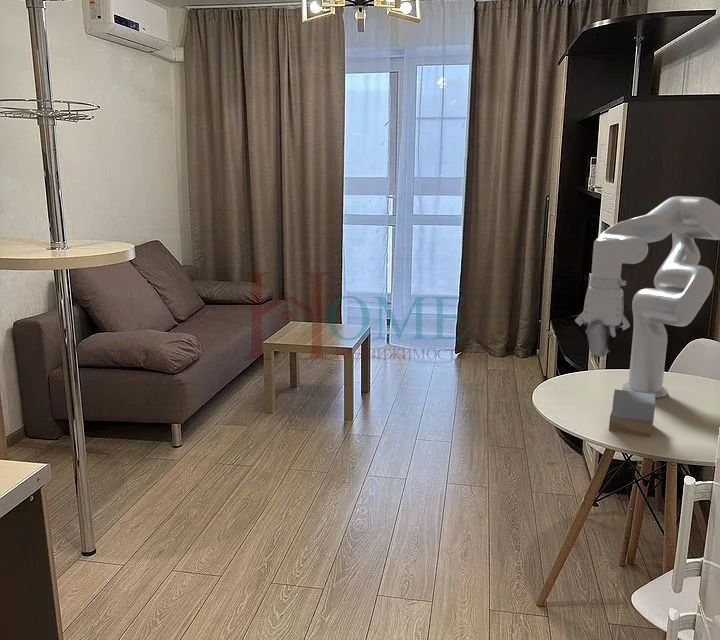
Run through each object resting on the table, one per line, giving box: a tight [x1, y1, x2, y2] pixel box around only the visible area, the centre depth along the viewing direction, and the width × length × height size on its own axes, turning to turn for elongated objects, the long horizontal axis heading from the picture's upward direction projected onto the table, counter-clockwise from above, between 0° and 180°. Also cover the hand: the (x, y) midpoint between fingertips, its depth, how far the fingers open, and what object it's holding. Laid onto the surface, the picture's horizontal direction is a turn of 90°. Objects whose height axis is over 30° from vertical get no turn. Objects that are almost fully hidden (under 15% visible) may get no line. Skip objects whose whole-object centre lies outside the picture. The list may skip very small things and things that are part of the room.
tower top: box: [611, 389, 656, 423], centre depth 183 cm, size 9×10×4 cm
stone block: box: [586, 323, 611, 358], centre depth 193 cm, size 12×5×10 cm, turn 143°
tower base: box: [608, 411, 654, 438], centre depth 184 cm, size 9×10×4 cm
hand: (600, 347), depth 194 cm, fingers closed on stone block, 4 cm apart
